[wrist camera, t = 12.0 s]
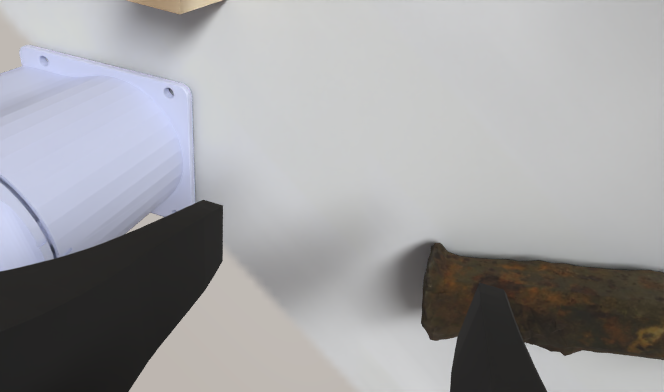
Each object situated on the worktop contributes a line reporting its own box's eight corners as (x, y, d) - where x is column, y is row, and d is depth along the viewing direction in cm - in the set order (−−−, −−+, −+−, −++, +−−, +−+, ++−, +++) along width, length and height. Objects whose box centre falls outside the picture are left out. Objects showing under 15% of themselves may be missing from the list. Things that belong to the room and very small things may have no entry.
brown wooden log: (429, 294, 25) (415, 364, 21) (429, 230, 23) (414, 295, 19) (906, 357, 19) (1003, 468, 16) (962, 279, 17) (1088, 385, 14)
